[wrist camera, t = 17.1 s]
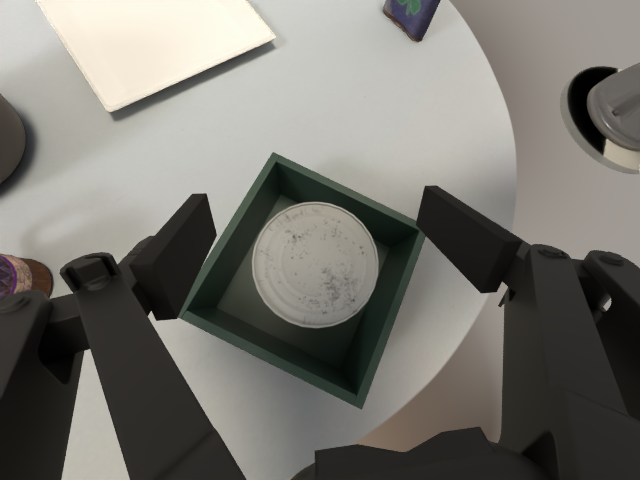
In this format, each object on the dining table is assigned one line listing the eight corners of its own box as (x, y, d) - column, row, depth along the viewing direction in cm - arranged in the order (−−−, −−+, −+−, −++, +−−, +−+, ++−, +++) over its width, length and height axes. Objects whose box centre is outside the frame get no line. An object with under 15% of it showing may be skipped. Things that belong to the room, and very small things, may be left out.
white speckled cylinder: (268, 317, 29) (248, 330, 17) (270, 238, 31) (254, 199, 19) (348, 315, 30) (383, 326, 18) (345, 239, 32) (374, 202, 20)
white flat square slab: (277, 48, 39) (276, 35, 37) (117, 122, 34) (106, 111, 32) (193, -54, 43) (188, -72, 41) (36, -3, 37) (21, -20, 35)
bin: (395, 245, 33) (429, 227, 25) (342, 377, 29) (362, 409, 20) (278, 189, 33) (272, 151, 25) (208, 310, 29) (172, 314, 20)
